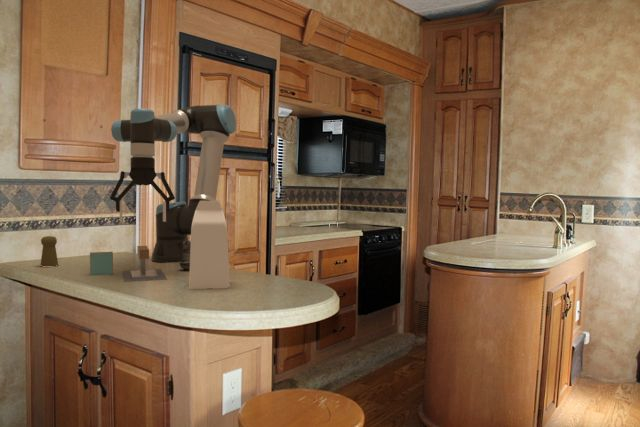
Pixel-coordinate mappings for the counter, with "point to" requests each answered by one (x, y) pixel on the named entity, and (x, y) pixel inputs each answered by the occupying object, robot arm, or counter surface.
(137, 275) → the trowel
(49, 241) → the cork
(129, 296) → the counter surface
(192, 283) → the milk
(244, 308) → the counter surface
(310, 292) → the counter surface
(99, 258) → the tile
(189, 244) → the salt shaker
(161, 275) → the mat
